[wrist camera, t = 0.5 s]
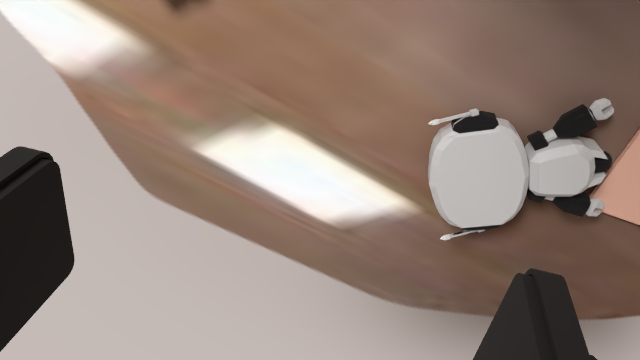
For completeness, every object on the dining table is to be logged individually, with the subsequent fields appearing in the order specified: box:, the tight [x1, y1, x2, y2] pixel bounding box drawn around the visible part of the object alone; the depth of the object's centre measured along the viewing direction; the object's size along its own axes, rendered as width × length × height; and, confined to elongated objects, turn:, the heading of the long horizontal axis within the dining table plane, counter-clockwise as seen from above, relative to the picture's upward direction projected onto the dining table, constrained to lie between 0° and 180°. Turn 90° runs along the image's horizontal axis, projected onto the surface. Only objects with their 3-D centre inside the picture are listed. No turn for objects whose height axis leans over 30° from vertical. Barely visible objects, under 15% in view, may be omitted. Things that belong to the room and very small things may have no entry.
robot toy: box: [428, 98, 614, 240], centre depth 44 cm, size 12×4×15 cm
